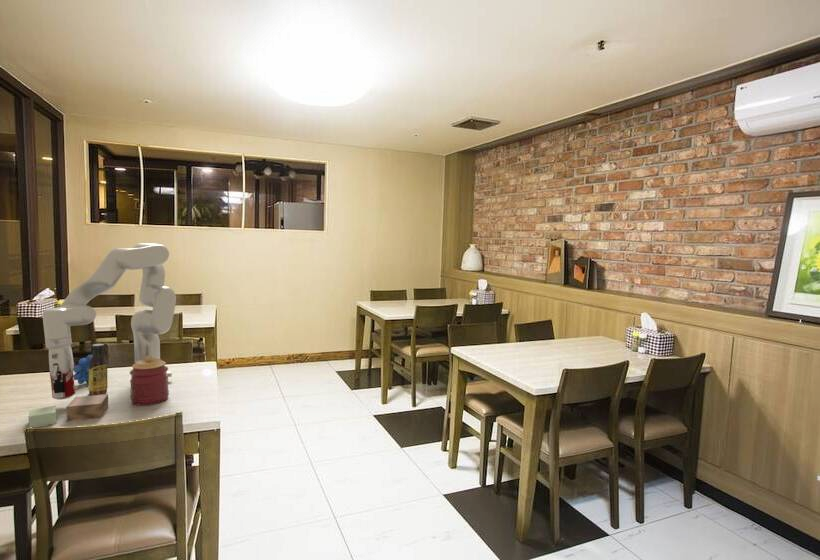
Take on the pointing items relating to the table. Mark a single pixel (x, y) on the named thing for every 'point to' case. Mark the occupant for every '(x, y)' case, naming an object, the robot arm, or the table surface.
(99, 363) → the sauce bottle
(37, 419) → the green block
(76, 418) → the walnut block
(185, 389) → the table surface
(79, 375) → the grapes
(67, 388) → the soda can
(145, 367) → the canister
